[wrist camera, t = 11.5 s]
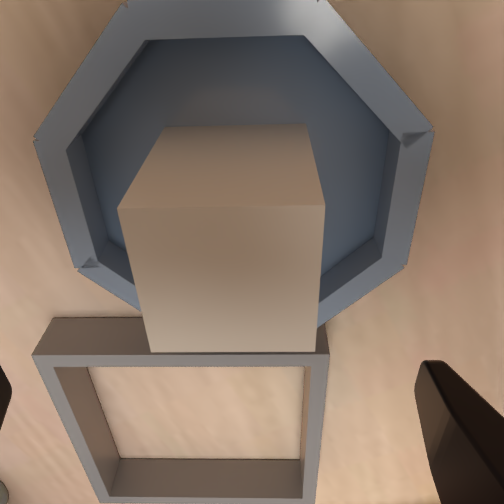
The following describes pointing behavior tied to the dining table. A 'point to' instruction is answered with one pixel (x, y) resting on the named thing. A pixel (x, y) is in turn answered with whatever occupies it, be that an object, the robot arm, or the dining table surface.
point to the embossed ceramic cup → (3, 494)
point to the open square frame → (173, 470)
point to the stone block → (227, 239)
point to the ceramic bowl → (239, 113)
